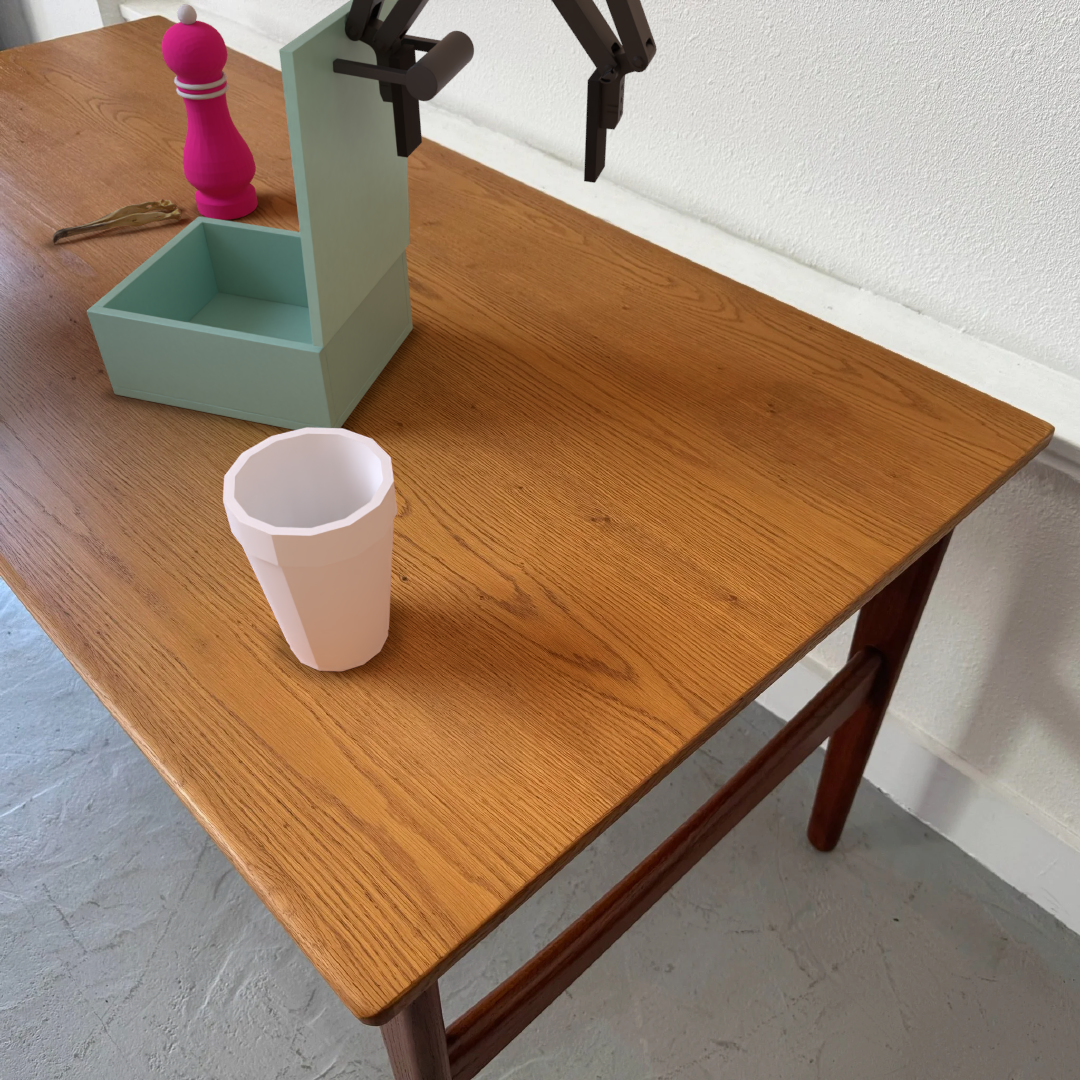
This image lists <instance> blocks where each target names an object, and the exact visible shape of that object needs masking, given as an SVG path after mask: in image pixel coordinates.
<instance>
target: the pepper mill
mask: <svg viewBox="0 0 1080 1080" xmlns="http://www.w3.org/2000/svg"><path fill="white" fill-rule="evenodd" d="M176 16H177V19H178V21H179V22H176V23H174V24H172V25H171V26H170V27H169V28H168V29H167V30H166V32H165V33H164V35H163V37H162V41H161V51H162V54H161V55H162V58H163V61H164V62H165V64H166V66H167V67H168V69H169V70H170V71H172V72H173V73H174V74H175V75H176V76H175V77H174V78H173V82H174V84H175V85H176V94H177V95H178V96H179V97H181V98H182V99H183V103H184V106H185V110H186V111H185V112H186V118H187V130H186V135H185V136H186V137H185V141H184V146H183V154H182V166H183V173H184V177H185V179H186V180H187V182H188V183H189V184H190V185H191V186H192V187H193V188H195V189H196V191H195V193H194V199H195V203H196V207H197V210H198V213H199V214H200V215H201V216H202V217H206V218H213V219H219V220H226V221H231V220H235V219H239V218H244V217H246V216H249V215H250V214H252V213H253V212H254V211H255V210H256V209H257V207H258V205H259V202H258V197H257V192H256V188H255V186H254V184H252V183H251V182H252V181H253V179H254V177H255V175H256V171H257V170H256V169H257V167H256V162H255V158H254V155H253V153H252V151H251V149H250V146H249V144H248V143H247V141H246V140H245V139H244V137H243V136H242V135H241V133H240V131H239V130H238V128H237V127H236V125H235V124H234V121H233V119H232V117H231V113H230V110H229V106H228V100H227V92H228V90H229V88H230V86H229V83H228V81H227V79H228V75H227V73H226V72H225V71H223V70H224V68H225V67H226V64H227V61H228V49H227V45H226V42H225V39H224V38H223V36H222V33H220V32H219V31H218V29H216V28H215V27H214V26H213V25H211V24H209V23H207V22H204V21H201V20H197V19H198V14H197V11H196V9H195V8H194V7H193V6H192V5H190V4H187V3H185V4H181V5H179V7H178V8H177V11H176Z"/></svg>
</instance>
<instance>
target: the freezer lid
mask: <svg viewBox="0 0 1080 1080" xmlns="http://www.w3.org/2000/svg"><path fill="white" fill-rule="evenodd" d="M397 1H398V0H385V1H384V4H383V7H382V10H381V13H380V16H379V20H381V21H383V22H384V20H385V19H386V17H387V16H388V14H389V13H390V11H391V10H392V8H393V7H394V5H395V4H396V2H397ZM352 2H353V0H348V1H347V2H345V3H344V4H342V6H340V7H339V8H337V9H335V10H334V11H332V12H331V13H329V14H328V15H327V16H326V17H324V18H323V19H321V20H320V21H318V22H317V23H314V25H312V26H311V27H310V28H308V29H307V30H305V31H304V32H302V33H301V34H300V35H298V36H297V37H295V38H294V39H292V40H291V41H289V42H288V43H287V44H285V45H284V46H282V47H281V48H280V49H279V50H278V53H279V60H280V61H279V62H280V70H281V79H282V88H283V96H284V104H285V115H286V123H287V131H288V140H289V148H290V156H291V158H290V159H291V166H292V175H293V183H294V192H295V200H296V201H295V202H296V210H297V216H298V227H299V232H300V236H301V245H302V254H303V263H304V271H305V280H306V289H307V298H308V306H309V315H310V324H311V333H312V341H313V345H314V346H318V347H323V348H324V347H325V346H326V345H327V343H328V342H329V341H330V340H331V338H332V337H333V336H334V335H335V334H336V332H337V331H338V330H339V329H340V328H341V326H342V325H343V324H344V323H345V322H346V320H347V319H348V318H349V317H350V315H351V314H352V313H353V312H354V311H355V309H356V308H357V307H358V306H359V305H360V303H361V302H362V301H363V300H364V299H365V297H366V296H367V295H368V294H369V292H370V291H371V290H372V289H373V288H374V286H375V285H376V284H377V283H378V282H379V280H380V279H381V278H382V277H383V276H384V274H385V273H386V272H387V271H388V269H389V268H390V267H391V266H392V265H393V263H394V262H395V261H396V260H397V259H398V257H399V256H400V255H401V254H402V252H403V251H404V250H405V249H406V250H407V248H408V246H410V244H411V227H410V223H411V222H410V198H409V170H408V169H409V168H408V166H409V165H408V158H407V157H400V156H397V147H396V136H395V125H394V114H393V103H391V102H383V100H382V97H381V95H380V91H379V81H385V82H391V83H396V84H402V85H406V88H407V90H408V92H409V93H410V94H411V95H412V96H413V97H414V98H415V99H417V100H419V102H428V101H431V100H432V99H434V98H435V97H436V96H437V95H438V94H439V93H440V92H441V91H442V90H443V89H444V88H445V87H446V86H447V85H448V84H449V83H450V82H451V81H452V80H453V79H454V78H455V77H456V76H457V75H458V74H459V73H460V72H461V71H462V70H464V68H465V67H466V66H467V65H468V64H469V63H470V62H471V61H472V60H473V58H474V55H475V46H474V43H473V41H472V39H471V38H470V36H469V35H468V34H467V33H465V32H463V31H461V30H452V31H450V32H449V33H447V34H446V35H445V36H444V37H443V38H442V39H435V38H429V37H423V36H417V35H411V34H407V33H406V34H405V36H406V37H405V38H404V39H402V40H401V41H400V42H401V46H403V45H404V44H408V45H415V51H418V52H424V53H425V54H424V55H422V57H421V58H420V59H418V60H416V63H415V64H414V65H413V66H412V67H411V68H410V69H409V70H408V71H407V70H401V69H396V68H390V67H384V66H378V65H377V61H376V54H375V52H374V50H373V49H372V48H371V47H370V46H369V45H368V44H366V43H364V42H362V41H360V40H358V41H352V40H350V39H349V38H348V37H347V35H346V33H345V25H346V22H347V19H348V15H349V12H350V9H351V6H352ZM378 80H379V81H378Z"/></svg>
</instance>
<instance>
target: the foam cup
mask: <svg viewBox="0 0 1080 1080" xmlns="http://www.w3.org/2000/svg"><path fill="white" fill-rule="evenodd" d="M222 492H223V493H222V502H223V506H224V509H225V513H226V517H227V520H228V524H229V527H230V531H231V534H232V535H233V536H234V538H235V539H236V540H237V542H238V543H239V544H240V545H241V546H242V549H243V550H244V553H245V556H246V557H247V560H248V562H249V564H250V566H251V568H252V570H253V572H254V575H255V577H256V579H257V581H258V583H259V585H260V587H261V590H262V591H263V594H264V596H265V598H266V600H267V602H268V604H269V606H270V609H271V611H272V613H273V615H274V617H275V620H276V621H277V624H278V626H279V627H280V630H281V632H282V634H283V636H284V639H285V640H286V643H287V644H288V646H289V649H290V650H291V652H292V653H293V654H294V656H295V657H296V658H297V660H298V661H299V662H300V663H301V664H302V665H305V666H308V667H310V668H312V669H314V670H317V671H320V672H344V671H349V670H351V669H354V668H357V667H360V666H364V665H365V664H366V663H368V662H369V661H370V660H371V659H372V658H374V657H375V656H377V655H378V654H379V653H380V652H381V651H382V649H383V647H384V645H385V643H386V641H387V639H388V637H389V630H390V615H391V614H390V612H391V594H392V593H391V592H392V591H391V590H392V572H393V571H392V569H393V549H394V548H393V546H394V529H395V528H394V524H395V518H396V516H397V515H398V504H397V496H396V486H395V479H394V471H393V463H392V457H391V456H390V455H389V454H388V453H387V452H386V451H385V450H384V448H382V447H381V446H380V445H379V444H378V443H377V441H375V440H374V438H372V437H368V436H365V435H362V434H360V433H357V432H354V431H351V430H349V429H346V428H342V427H341V428H309V427H307V428H302V429H298V430H291V431H290V430H289V431H286V432H283V433H277V434H274V435H271V436H269V437H267V438H266V439H265V438H264V440H262V441H260V442H258V443H257V444H255V445H253V446H252V447H249V448H248V449H247V450H244V451H243V452H241V453H240V455H239V456H238V457H237V458H236V460H235V461H234V463H233V464H232V465H231V466H230V468H229V469H228V471H227V472H226V474H224V476H223V491H222Z"/></svg>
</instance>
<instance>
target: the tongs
mask: <svg viewBox="0 0 1080 1080" xmlns="http://www.w3.org/2000/svg"><path fill="white" fill-rule="evenodd" d="M148 206H149V207H148ZM177 207H178V206H177V204H176V203H175V202H174V203H173V202H172V201H171V200H170V199H163V198H161V199H160V200H158V201H155V200H154V201H145V202H141V203H135V204H128V205H125V206H123V207H120V208H118V209H116V210H113V211H112V212H110V213H108V214H106V215H103V216H102V217H100V218H98V219H95V220H92V221H90V222H87V223H84V224H80V225H75V226H69V227H64V228H61V229H57V230H56V231H55V232H54V233H53V235H52V239H51V241H52V244H53V245H55V244H56V243H57V241H59V240H62V239H64V238H69V237H74V236H78V235H83V234H87V233H94V232H98V231H99V232H100V231H105V230H109V229H112V228H117V227H118V228H120V227H141V226H144V225H147V224H151V223H155V222H162V221H168V220H176V221H180V219H181V218H182V215H183V213H182V211H181V209H180V208H177ZM162 210H167V211H168V210H169V211H170V212H169V213H166V212H163V211H162Z"/></svg>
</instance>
